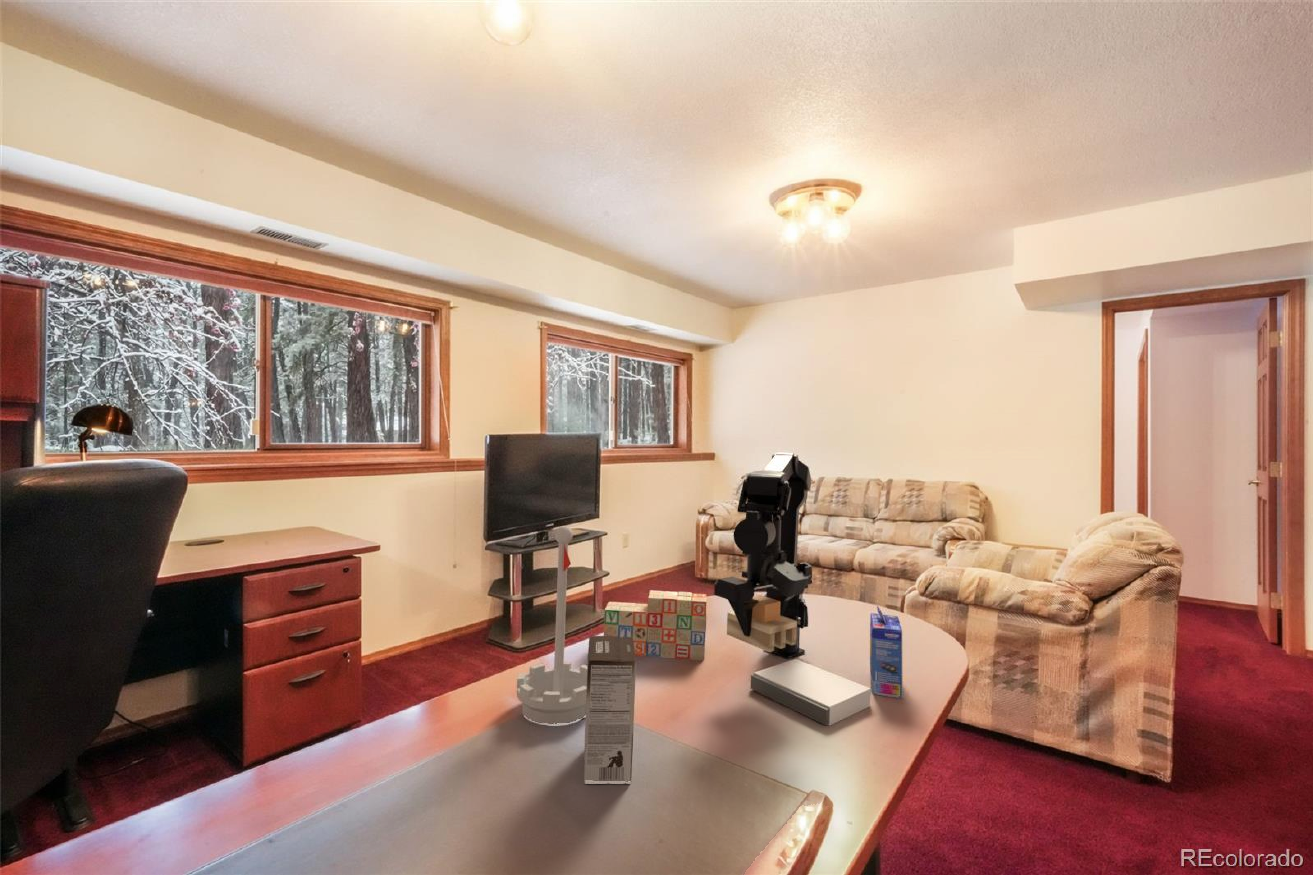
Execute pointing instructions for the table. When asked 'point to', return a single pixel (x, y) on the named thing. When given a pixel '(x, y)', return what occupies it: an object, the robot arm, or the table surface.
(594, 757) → the coffee box
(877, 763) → the table surface
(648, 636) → the stack of blocks
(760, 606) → the tan cardboard cube
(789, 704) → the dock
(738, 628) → the pallet
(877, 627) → the ink cartridge box
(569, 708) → the flag stand
